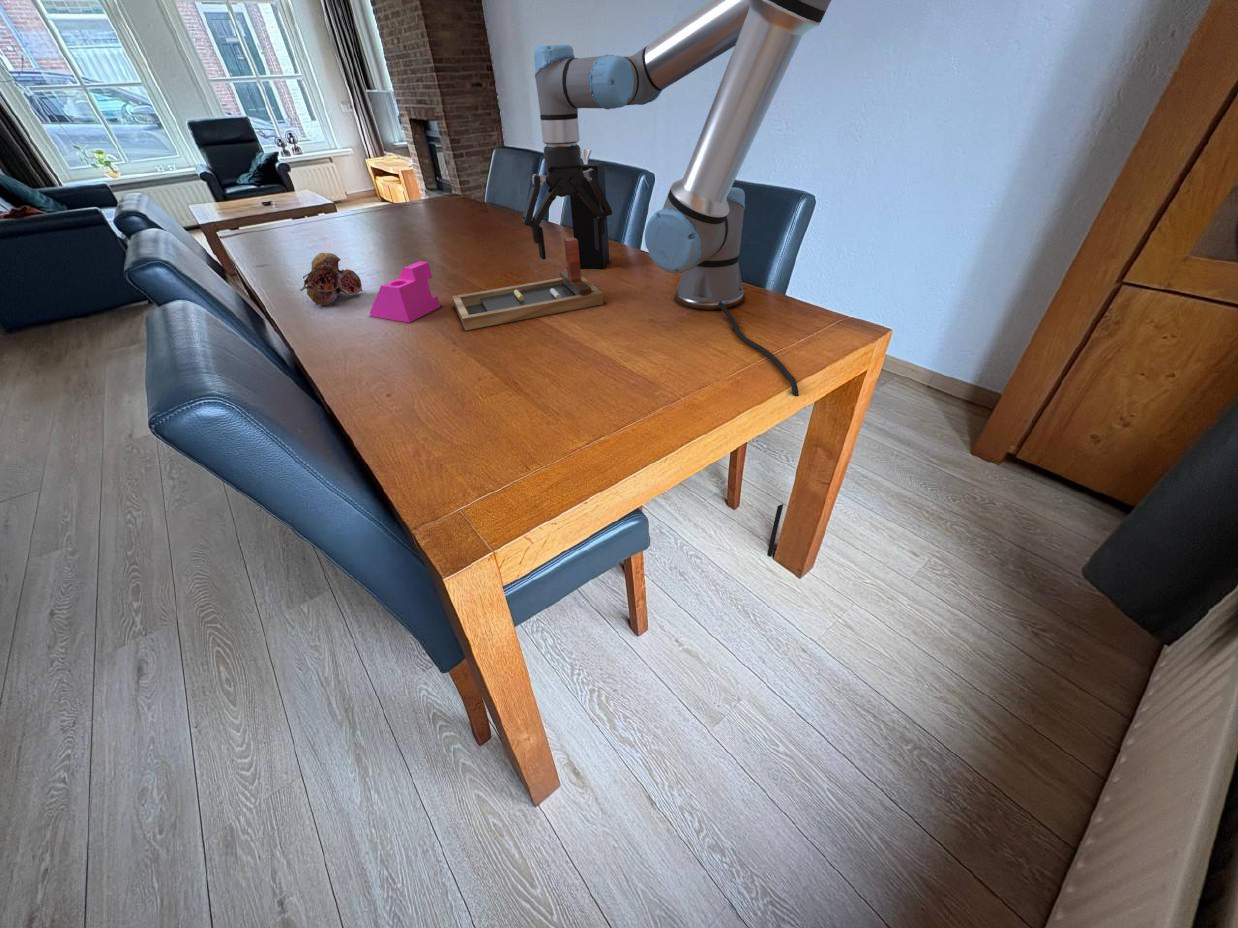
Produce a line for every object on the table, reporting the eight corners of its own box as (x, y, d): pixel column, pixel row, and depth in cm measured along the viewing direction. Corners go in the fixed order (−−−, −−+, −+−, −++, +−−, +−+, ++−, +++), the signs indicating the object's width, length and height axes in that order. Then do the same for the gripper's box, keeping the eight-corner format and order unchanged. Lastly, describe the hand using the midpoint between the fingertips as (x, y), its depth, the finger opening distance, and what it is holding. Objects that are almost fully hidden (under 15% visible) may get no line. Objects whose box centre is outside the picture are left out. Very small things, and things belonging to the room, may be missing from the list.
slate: (603, 304, 115) (602, 293, 113) (465, 330, 106) (462, 318, 104) (580, 284, 126) (580, 274, 125) (454, 307, 117) (452, 296, 116)
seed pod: (280, 291, 111) (340, 259, 113) (272, 259, 120) (327, 230, 122) (321, 334, 122) (375, 304, 124) (311, 302, 131) (361, 275, 133)
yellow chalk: (522, 302, 114) (525, 297, 114) (517, 299, 113) (520, 294, 113) (517, 296, 118) (520, 291, 117) (512, 293, 117) (515, 288, 117)
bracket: (440, 306, 118) (428, 262, 112) (409, 322, 111) (394, 275, 104) (402, 301, 122) (389, 258, 116) (370, 316, 115) (354, 271, 109)
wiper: (592, 297, 113) (588, 245, 106) (580, 299, 112) (575, 247, 105) (571, 279, 124) (566, 231, 117) (560, 281, 123) (555, 233, 117)
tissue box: (603, 269, 136) (596, 150, 119) (576, 268, 138) (565, 151, 121) (609, 260, 142) (603, 146, 125) (583, 260, 144) (573, 147, 127)
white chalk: (555, 298, 113) (560, 301, 114) (557, 293, 113) (562, 295, 113) (549, 292, 117) (553, 294, 117) (551, 287, 116) (556, 289, 117)
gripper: (611, 138, 107) (614, 242, 120) (497, 147, 99) (514, 257, 113) (624, 141, 101) (627, 250, 114) (505, 151, 94) (522, 266, 107)
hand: (571, 253), depth 113 cm, fingers open, 13 cm apart
